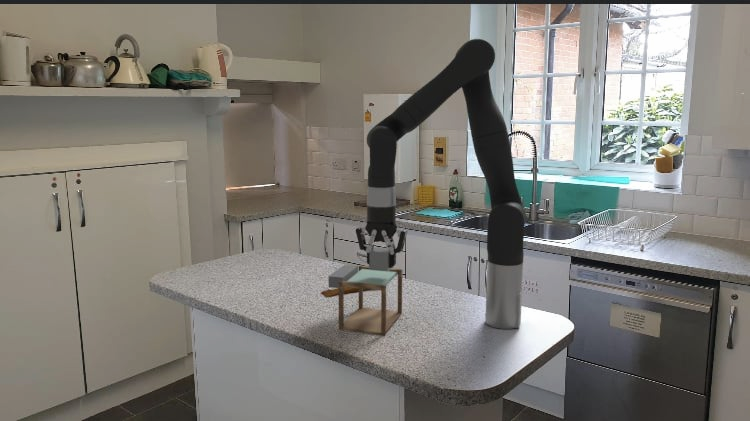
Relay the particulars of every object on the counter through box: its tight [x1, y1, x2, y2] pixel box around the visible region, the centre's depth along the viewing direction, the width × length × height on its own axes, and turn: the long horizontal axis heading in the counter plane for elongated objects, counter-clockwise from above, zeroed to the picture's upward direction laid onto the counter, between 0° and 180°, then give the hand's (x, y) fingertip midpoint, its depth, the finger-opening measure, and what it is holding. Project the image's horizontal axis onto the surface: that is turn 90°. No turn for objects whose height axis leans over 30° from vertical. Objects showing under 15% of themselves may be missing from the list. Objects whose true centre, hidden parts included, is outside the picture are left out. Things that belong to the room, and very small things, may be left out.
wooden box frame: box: [338, 265, 403, 336], centre depth 156 cm, size 13×17×13 cm
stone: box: [370, 246, 391, 271], centre depth 154 cm, size 5×5×5 cm
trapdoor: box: [328, 264, 398, 289], centre depth 156 cm, size 15×14×3 cm
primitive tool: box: [320, 287, 369, 298], centre depth 184 cm, size 19×6×4 cm, turn 117°
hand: (381, 266), depth 154 cm, fingers closed on stone, 5 cm apart
